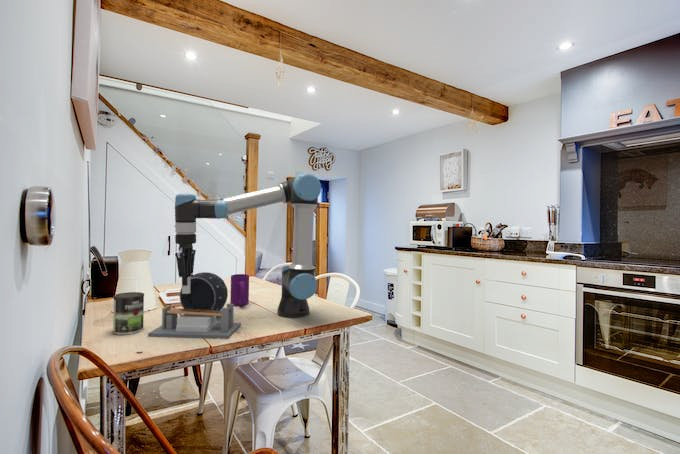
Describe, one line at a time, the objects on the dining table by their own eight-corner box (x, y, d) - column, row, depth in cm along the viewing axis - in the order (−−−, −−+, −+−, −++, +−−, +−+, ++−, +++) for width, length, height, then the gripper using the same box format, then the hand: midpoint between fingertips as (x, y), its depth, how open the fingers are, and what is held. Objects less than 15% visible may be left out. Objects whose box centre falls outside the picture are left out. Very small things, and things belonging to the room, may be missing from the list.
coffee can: (149, 329, 139) (149, 294, 138) (121, 336, 130) (121, 298, 129) (135, 324, 144) (135, 290, 144) (107, 331, 135) (108, 295, 135)
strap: (231, 314, 140) (231, 309, 140) (228, 317, 136) (228, 312, 136) (172, 311, 141) (172, 306, 140) (167, 314, 137) (167, 309, 136)
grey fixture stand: (240, 325, 146) (241, 301, 146) (228, 338, 130) (228, 311, 130) (169, 323, 147) (169, 299, 147) (147, 336, 131) (148, 309, 131)
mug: (247, 301, 188) (247, 273, 188) (252, 308, 174) (252, 278, 174) (229, 302, 185) (229, 274, 184) (233, 310, 170) (233, 279, 170)
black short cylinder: (217, 322, 150) (218, 275, 150) (176, 318, 154) (176, 273, 154) (230, 315, 161) (230, 272, 160) (191, 312, 165) (191, 269, 164)
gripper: (183, 232, 144) (184, 289, 145) (167, 234, 131) (168, 296, 132) (202, 232, 144) (202, 289, 145) (187, 234, 131) (188, 297, 132)
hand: (186, 293), depth 138 cm, fingers closed
